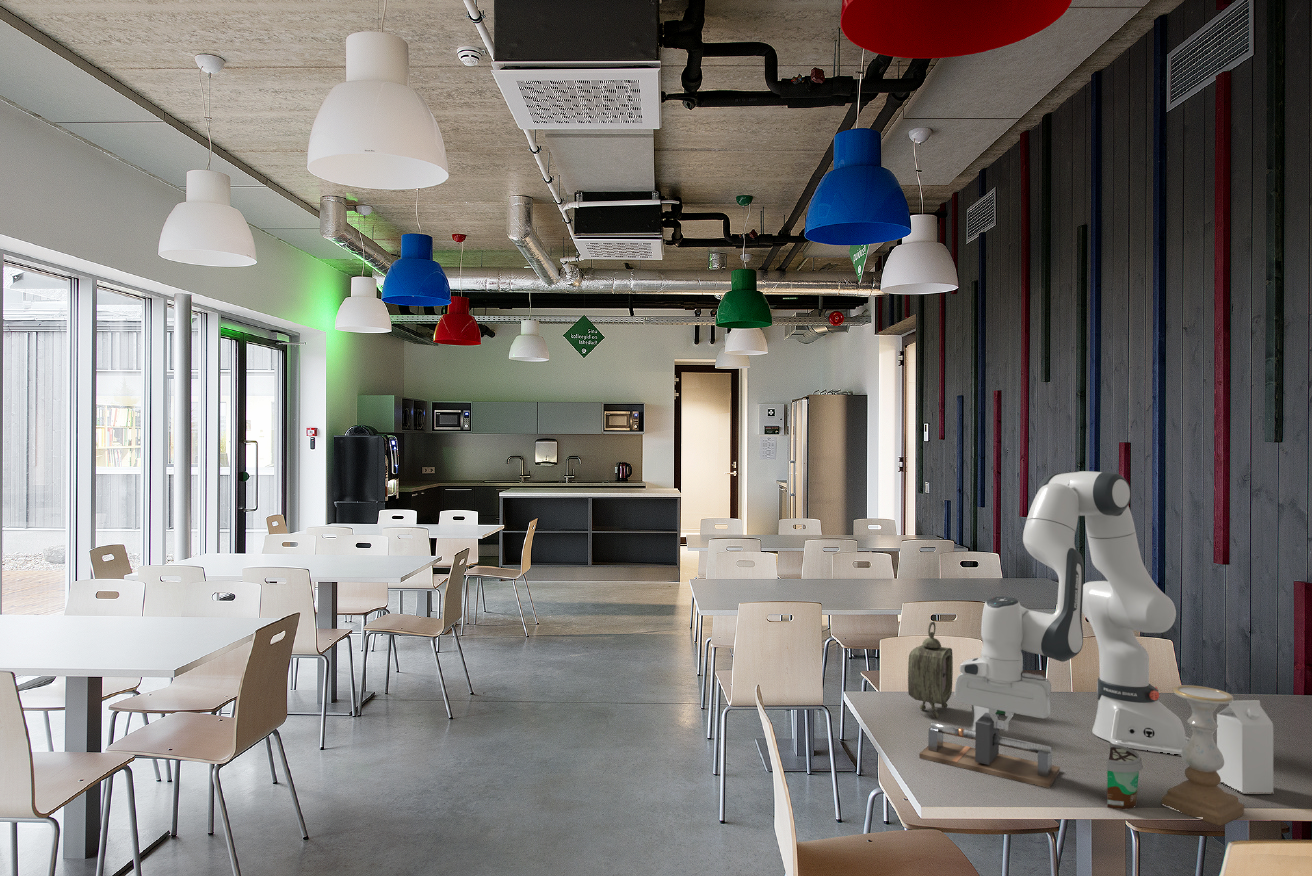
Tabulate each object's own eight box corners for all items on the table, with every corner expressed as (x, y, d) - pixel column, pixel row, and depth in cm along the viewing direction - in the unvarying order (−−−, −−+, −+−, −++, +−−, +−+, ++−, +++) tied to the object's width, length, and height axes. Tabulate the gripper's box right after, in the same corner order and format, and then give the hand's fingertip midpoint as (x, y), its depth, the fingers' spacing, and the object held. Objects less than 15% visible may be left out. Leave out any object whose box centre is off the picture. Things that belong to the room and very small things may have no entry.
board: (1059, 771, 182) (1059, 766, 182) (1049, 788, 173) (1049, 783, 173) (934, 743, 199) (935, 739, 199) (919, 757, 189) (919, 753, 189)
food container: (1142, 817, 159) (1142, 767, 159) (1106, 810, 162) (1107, 760, 163) (1143, 796, 170) (1143, 748, 170) (1109, 789, 173) (1110, 742, 173)
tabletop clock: (940, 721, 216) (941, 628, 216) (906, 715, 221) (907, 624, 221) (952, 707, 228) (953, 619, 229) (919, 702, 233) (920, 615, 233)
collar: (998, 753, 189) (998, 715, 189) (989, 765, 181) (989, 725, 182) (985, 750, 190) (985, 712, 191) (975, 762, 183) (975, 722, 183)
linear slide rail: (1051, 770, 180) (1052, 743, 180) (1047, 777, 176) (1047, 750, 176) (934, 744, 195) (934, 719, 196) (928, 750, 191) (928, 725, 192)
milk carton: (1216, 782, 178) (1216, 695, 178) (1246, 781, 178) (1246, 695, 179) (1242, 795, 171) (1242, 705, 171) (1273, 795, 171) (1273, 705, 172)
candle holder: (1186, 794, 171) (1186, 681, 171) (1245, 814, 162) (1245, 695, 162) (1160, 805, 165) (1160, 688, 165) (1220, 827, 156) (1220, 703, 156)
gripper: (1053, 673, 181) (1053, 735, 181) (960, 659, 193) (959, 716, 193) (1048, 679, 176) (1048, 743, 176) (952, 664, 188) (952, 723, 188)
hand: (1000, 729), depth 184 cm, fingers closed
